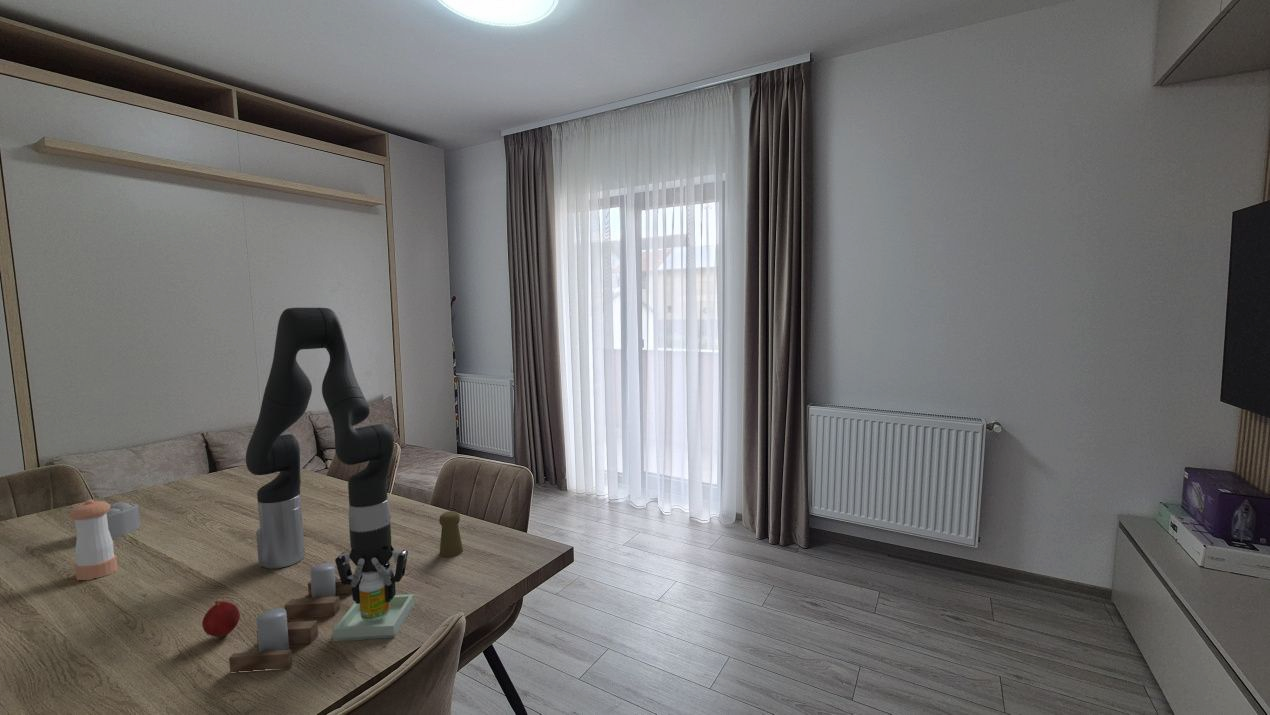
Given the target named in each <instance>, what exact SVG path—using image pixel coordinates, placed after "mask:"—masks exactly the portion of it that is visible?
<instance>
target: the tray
mask: <svg viewBox="0 0 1270 715" xmlns="http://www.w3.org/2000/svg"><path fill="white" fill-rule="evenodd" d="M414 607H415V594H414V593H411V594H397V595H396V594H395V596H394V597H393V599H392V600H391V601H390V602H389V613H388V614H387V615H386V616H385V617H383V618H381V619H379V620H375V621H364V620H362V618H361V612H360V604H356V602H355V601H354V603H353V604H352V605H351V606H350V608H349V609H348V610H347V611H346V613H345V614H344V615H343V616H342V617H341V619H340V620H339V621H338V623H337V624H336V625H335V626H334V627H333V629H332V636H333V642H345V641H360V640H361V641H363V640H365V641H366V640H377V639H392V638H393V639H394V638H395V637H396V636H397V634H398V632H399V631H400V630H401V627H402V626H403V625H404V623H405V621H406V620H407V618H408V616H409V614H410V613H411V612H412V609H413V608H414Z"/></svg>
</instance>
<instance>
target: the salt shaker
mask: <svg viewBox="0 0 1270 715" xmlns="http://www.w3.org/2000/svg"><path fill="white" fill-rule="evenodd" d="M109 504H110V503H108V502H107V501H101V500H94V499H87V500H86V501H85V502H84V503H81V504H78V505H77V506H74V507H73V508H72V509H71V511H70V512H69V513H70V514H69V517H70V518H71V519H72V520H74V522H76V524H75V532H77V533H76V542H75V551H74V553H75V559H76V563H75V565H74V570H75V578H76V579H77V581H78V580H87V581H90V580H89V579H93V580H95V579H94V578H97V579H100V578H99V577H101V578H103V577H102V576H104V577H106V576H105V575H107V576H109V575H112V574H113V573H115V572H116V571H117V570H118V559H117V554H115V553H114V552H115V551H114V540H113V539H112V538H111V535H110V532H109V529H108V522H107V513H108V512H109V510H110V505H111V504H110V505H109ZM114 571H115V572H114ZM108 574H109V575H108Z"/></svg>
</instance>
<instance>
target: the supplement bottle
mask: <svg viewBox="0 0 1270 715" xmlns="http://www.w3.org/2000/svg"><path fill="white" fill-rule="evenodd" d="M385 585H386V583H385V581H384V579H383V578H382V577H380V575H379V573H378V572H373V571H369V572H363V571H362V580H361V583H360V584H359V596H360V612H361V618H362V620H364V621H375V620H379V619H381V618H383V617H385V616H386V615H387V614H388V613H389V602H386V597H385Z"/></svg>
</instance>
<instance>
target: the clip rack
mask: <svg viewBox="0 0 1270 715" xmlns="http://www.w3.org/2000/svg"><path fill="white" fill-rule="evenodd" d="M335 588H336V595H338V596H335V597H317V598H312V592H311V580H310V581H309V582H307V590H308V593H307V594H308V597H305V598H303V597H302V598H300V597H299V598H290V599H289V601H287V603H286V602H285V603H286V604H284V609H285V610H286V615H287V618H292V619H307V618H322V617H324V618H325V617H335V616H336V615H337V614H338V613H339V612H340V610H341V602H340V596H339V595H346V594H347V595H348V594H351V595H352V587H351V585H348V584H346V585H343V584H342V583H341V580H340V578H337V579H336V578H335ZM287 628H288V640H289V645H293V644H295V645H296V644H299V645H300V644H311V643H313V642H314V640H315V639H317V637H318V636H319V624H318V620H308V621H303V620H302V621H291V622H290V621H289V622H288V621H287ZM256 636H257V638H256V639H257V640H258V632H257V631H256ZM258 645H259V644H258V643H257V646H258ZM228 660H229V661H228V662H229V671H230V672H239V671H253V670H265V669H288V668H289V667H290V666H291V665H292V666H293V655H292V649H289V650H278V651H262V652H259V651H250V652H234V653H232V654H231V655H230V656H229V658H228ZM292 666H291V667H292ZM291 667H290V668H291ZM290 668H289V669H290Z"/></svg>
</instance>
